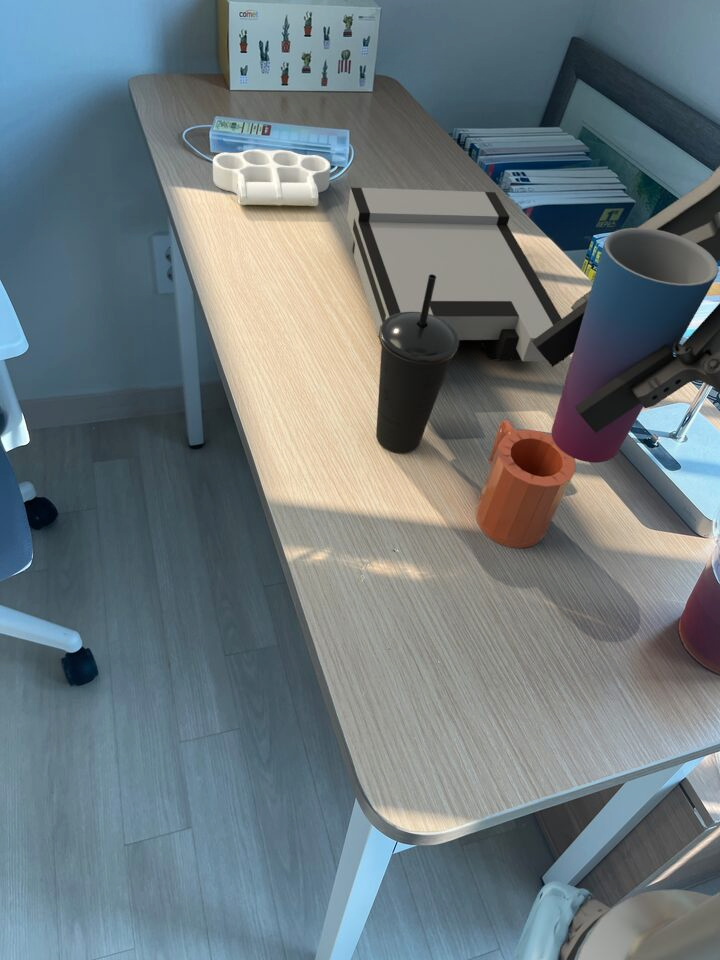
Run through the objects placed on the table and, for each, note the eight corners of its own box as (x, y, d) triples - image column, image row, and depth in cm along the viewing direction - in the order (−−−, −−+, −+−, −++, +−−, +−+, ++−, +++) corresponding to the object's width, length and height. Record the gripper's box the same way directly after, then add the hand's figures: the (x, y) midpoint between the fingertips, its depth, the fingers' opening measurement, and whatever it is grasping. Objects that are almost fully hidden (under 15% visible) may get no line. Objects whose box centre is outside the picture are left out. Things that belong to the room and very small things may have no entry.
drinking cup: (400, 404, 86) (433, 245, 71) (447, 444, 82) (492, 285, 68) (348, 430, 82) (372, 267, 67) (395, 473, 78) (431, 310, 64)
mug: (558, 542, 74) (589, 481, 68) (491, 552, 72) (516, 490, 66) (517, 467, 81) (541, 404, 74) (455, 475, 79) (474, 411, 72)
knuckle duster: (217, 211, 110) (210, 164, 120) (338, 212, 114) (322, 167, 124) (217, 188, 108) (210, 143, 117) (340, 191, 112) (324, 147, 121)
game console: (387, 388, 87) (398, 329, 81) (344, 242, 108) (350, 187, 102) (554, 384, 91) (576, 328, 86) (481, 244, 112) (495, 192, 107)
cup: (641, 433, 57) (729, 251, 46) (615, 485, 53) (705, 298, 42) (557, 398, 59) (622, 216, 49) (525, 445, 55) (589, 258, 44)
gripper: (788, 35, 47) (485, 275, 55) (1041, 182, 35) (607, 463, 43) (810, 122, 52) (531, 330, 60) (1037, 277, 40) (651, 512, 48)
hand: (563, 385), depth 51 cm, fingers closed on cup, 6 cm apart
